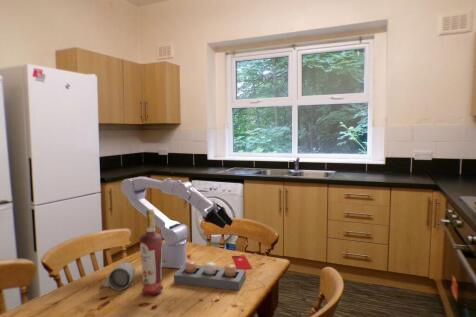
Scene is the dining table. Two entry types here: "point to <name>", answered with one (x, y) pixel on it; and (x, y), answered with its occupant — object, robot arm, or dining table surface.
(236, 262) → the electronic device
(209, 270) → the white egg
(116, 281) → the ceramic mug
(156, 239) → the liquor
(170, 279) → the dining table surface
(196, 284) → the grey egg tray
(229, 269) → the light brown oval
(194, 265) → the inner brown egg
